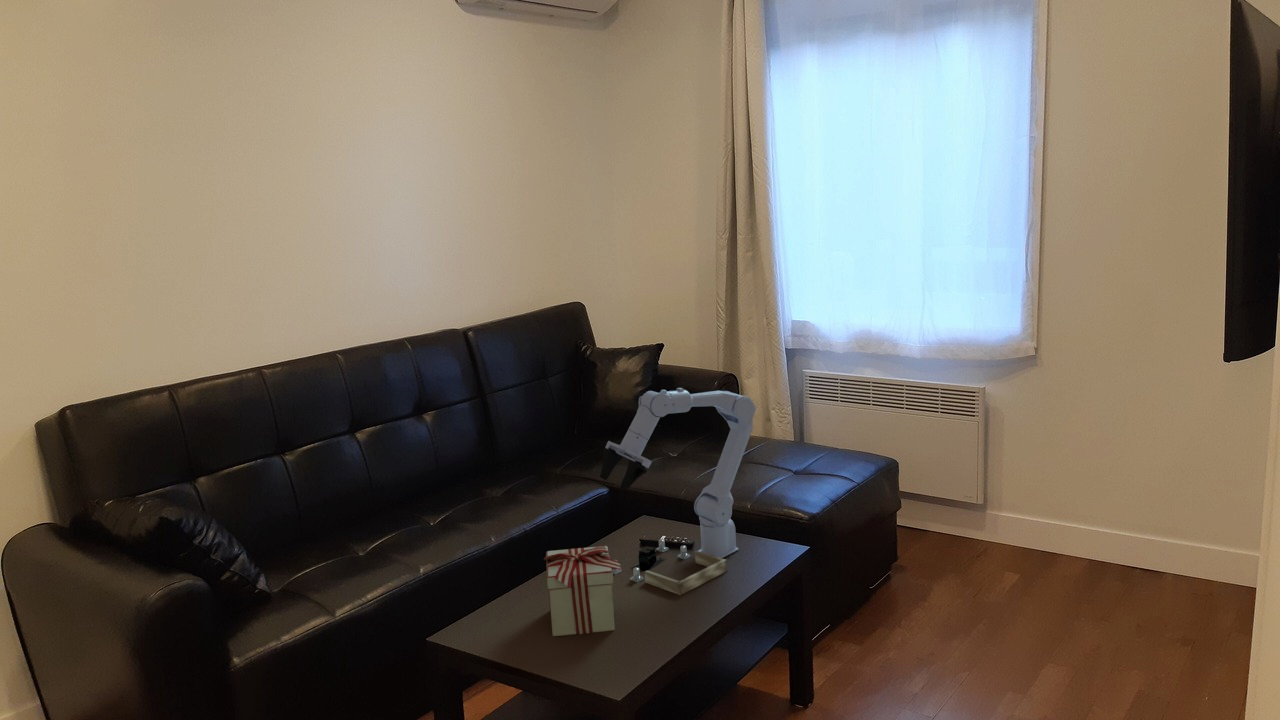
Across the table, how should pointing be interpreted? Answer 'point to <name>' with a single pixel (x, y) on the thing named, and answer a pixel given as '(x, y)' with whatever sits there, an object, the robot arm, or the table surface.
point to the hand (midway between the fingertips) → (612, 483)
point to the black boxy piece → (647, 559)
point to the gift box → (580, 590)
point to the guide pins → (661, 549)
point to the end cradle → (680, 587)
